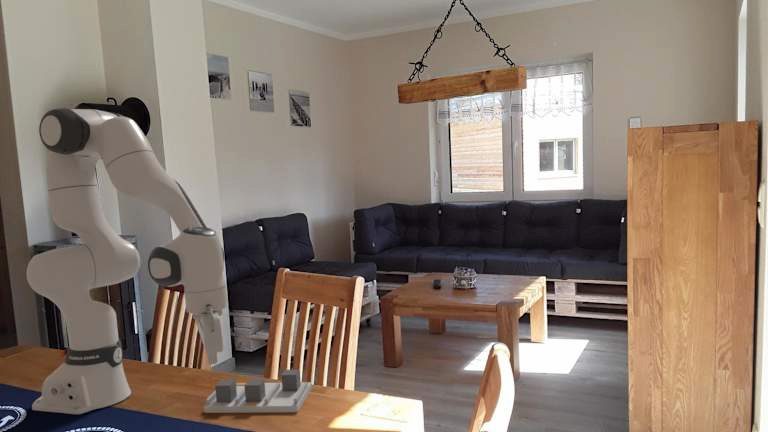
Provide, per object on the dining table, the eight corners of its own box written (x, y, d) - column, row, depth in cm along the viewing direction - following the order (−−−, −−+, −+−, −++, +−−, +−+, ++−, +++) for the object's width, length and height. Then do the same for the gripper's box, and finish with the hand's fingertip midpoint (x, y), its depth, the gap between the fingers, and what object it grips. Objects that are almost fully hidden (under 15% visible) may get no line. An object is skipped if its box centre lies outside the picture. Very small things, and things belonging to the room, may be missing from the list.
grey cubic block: (245, 402, 140) (244, 385, 139) (250, 395, 143) (249, 379, 143) (260, 402, 139) (259, 385, 139) (265, 395, 143) (264, 379, 142)
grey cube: (282, 391, 145) (281, 375, 145) (286, 385, 149) (285, 369, 148) (297, 391, 145) (296, 374, 144) (300, 385, 148) (299, 369, 148)
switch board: (204, 412, 139) (203, 401, 139) (226, 388, 153) (225, 378, 152) (297, 412, 136) (296, 400, 136) (311, 388, 150) (311, 377, 150)
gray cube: (216, 402, 141) (215, 385, 140) (222, 396, 144) (221, 379, 144) (231, 402, 140) (230, 385, 140) (237, 395, 144) (235, 379, 143)
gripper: (226, 308, 124) (233, 373, 125) (216, 291, 143) (222, 347, 144) (194, 313, 122) (201, 379, 123) (188, 294, 141) (194, 352, 142)
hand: (212, 362), depth 134 cm, fingers closed
